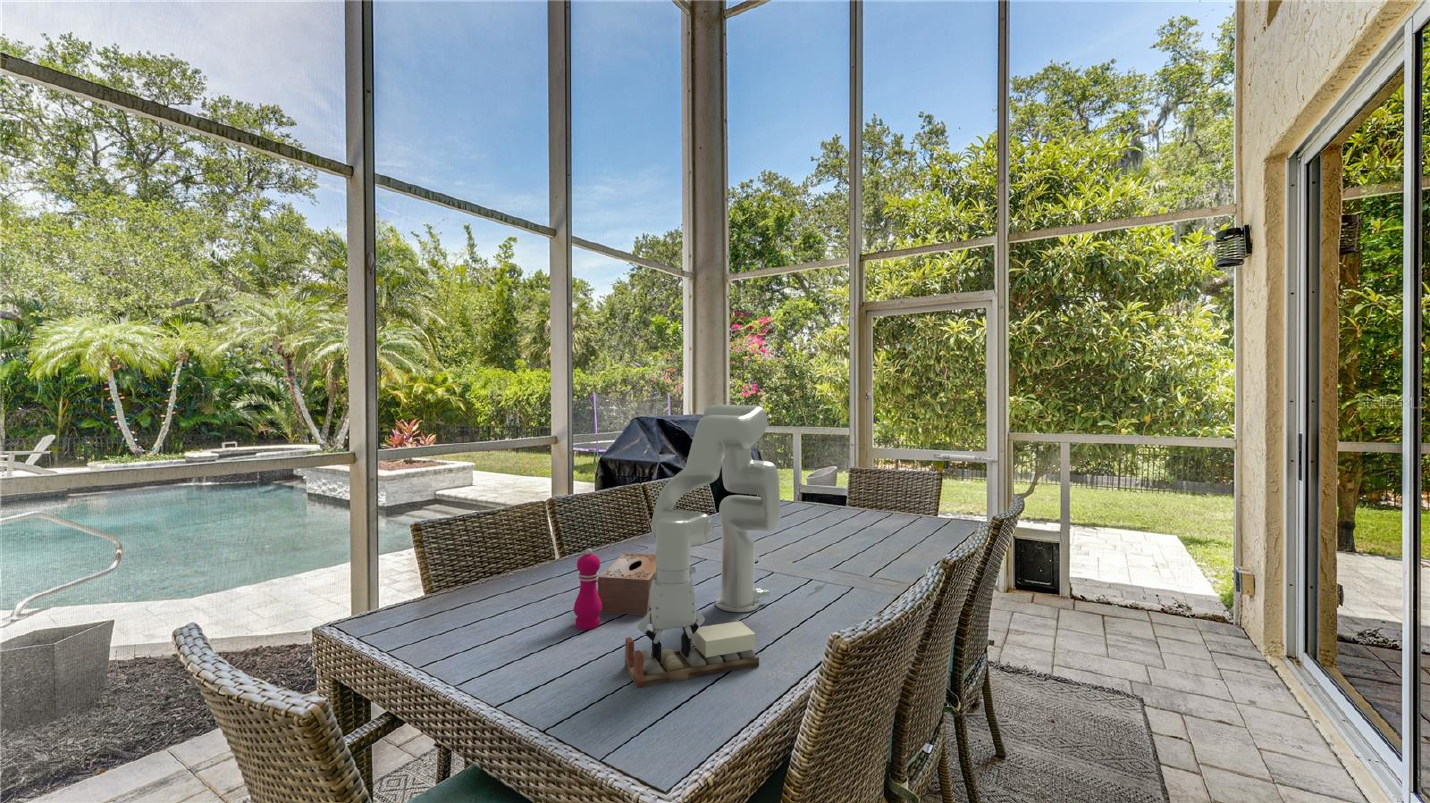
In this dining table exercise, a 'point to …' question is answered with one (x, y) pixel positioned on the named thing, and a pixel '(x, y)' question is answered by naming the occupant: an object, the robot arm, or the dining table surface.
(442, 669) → the dining table surface
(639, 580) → the tissue box cover
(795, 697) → the dining table surface
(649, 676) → the track
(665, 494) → the robot arm
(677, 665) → the roller
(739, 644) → the slab
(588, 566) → the pepper mill
